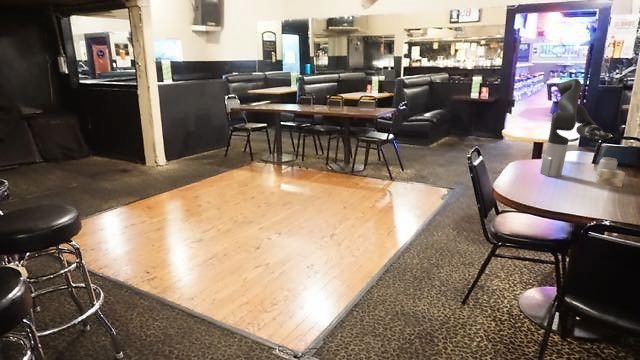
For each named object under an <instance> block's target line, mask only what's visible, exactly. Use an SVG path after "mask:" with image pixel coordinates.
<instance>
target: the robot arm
mask: <svg viewBox="0 0 640 360" xmlns="http://www.w3.org/2000/svg"><path fill="white" fill-rule="evenodd" d="M582 86H583V85H582V82H581V81H580V79H578V78H572V79H568V80H565V81H562V82H560V83H559V84H558V86H557V87H558V88H557V89H558V93H559V95H560V98H559V101H558V103H557V108H558V110H559V111H554V113H553V114H552V117H551V122H550V130H549V131H550V132H549V135H548V136H549V137H548V140H547V146H546V149H545V150H546V151H545V155H543V156H542V157H543V158H542V161H541V166H540V167H541V168H540V172H539V173H540V174H542V175H544V176H546V177H552V178H553V177H554V178H561V177H562V174H563V170H564V165H565V162H566V161H565V159H566V155H567V151H568V146H569V145H568V144H569V138H568V137H566V136H563V135H562V134H561V133H559V132H558V131H563V132H569V131H573V130H574V128H575V127H576V124H579V125H578V126H577V127H576V129H575V130H576V133H577V134H578V135H579V136H581V137H587V138H589V139H591V140H594V141H596V140H597V141H598V140H604V139H610V138H611V137H612V136H611V135H612V133H610V132H604V129H603V128H602V127H600V126H598V125H597V124H596V122H594V120H592V118H591V117H590V116H589V113H588V111H587V109H586V108H585V107H584V105H582V104H581V103H579V100H580V99H579V98H580V95H581V93H582V90H583V88H582Z"/></svg>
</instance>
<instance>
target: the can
mask: <svg viewBox="0 0 640 360" xmlns="http://www.w3.org/2000/svg"><path fill="white" fill-rule="evenodd" d="M617 167H618V160H617V158H614V157H606V156H602V158H601V159H600V161H599V164H598V168H597V173H596V176H595V179H596V180H597V176H598V172H599V169H606V170H616V171H617Z"/></svg>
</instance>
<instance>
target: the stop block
mask: <svg viewBox="0 0 640 360" xmlns="http://www.w3.org/2000/svg"><path fill="white" fill-rule="evenodd" d="M597 172H598V171H597ZM596 176H597V175H596ZM625 176H626V173H625V172H624V171H623V170H617V169H616V170H606V169H599V172H598V176H597V179H596V181H595V182H596V184H597V185H602V186H608V187H609V186H611V187H612V186H613V187H623V182H624V179H625Z"/></svg>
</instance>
